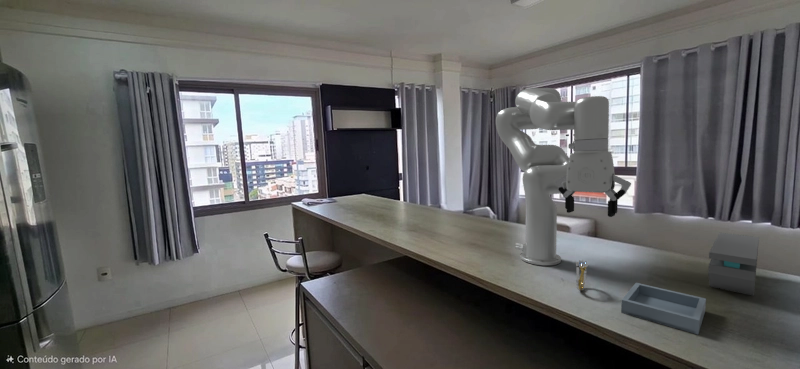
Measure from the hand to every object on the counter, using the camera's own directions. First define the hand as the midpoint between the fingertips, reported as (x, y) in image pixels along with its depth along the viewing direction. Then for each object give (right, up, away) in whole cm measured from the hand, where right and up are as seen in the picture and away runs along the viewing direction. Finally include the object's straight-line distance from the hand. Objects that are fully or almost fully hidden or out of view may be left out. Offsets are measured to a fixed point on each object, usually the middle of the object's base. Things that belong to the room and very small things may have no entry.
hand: (590, 213), depth 84 cm
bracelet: (-1, -21, +2) cm, 21 cm away
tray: (+10, -21, -10) cm, 26 cm away
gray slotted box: (+39, -19, +3) cm, 44 cm away
